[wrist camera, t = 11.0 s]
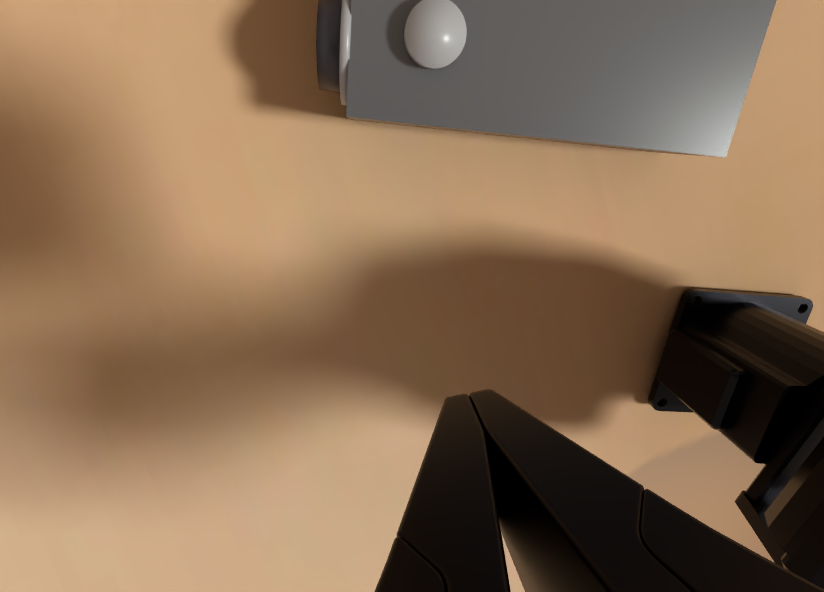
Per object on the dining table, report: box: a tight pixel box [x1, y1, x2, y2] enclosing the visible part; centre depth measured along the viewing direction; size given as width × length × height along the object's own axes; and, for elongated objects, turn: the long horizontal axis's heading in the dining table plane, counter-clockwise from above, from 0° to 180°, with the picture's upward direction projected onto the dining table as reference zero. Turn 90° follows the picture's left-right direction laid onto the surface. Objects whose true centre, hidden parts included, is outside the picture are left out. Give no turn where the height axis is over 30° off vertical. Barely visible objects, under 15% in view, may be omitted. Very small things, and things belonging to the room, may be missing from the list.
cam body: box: [316, 0, 776, 157], centre depth 15 cm, size 14×8×4 cm, turn 84°
